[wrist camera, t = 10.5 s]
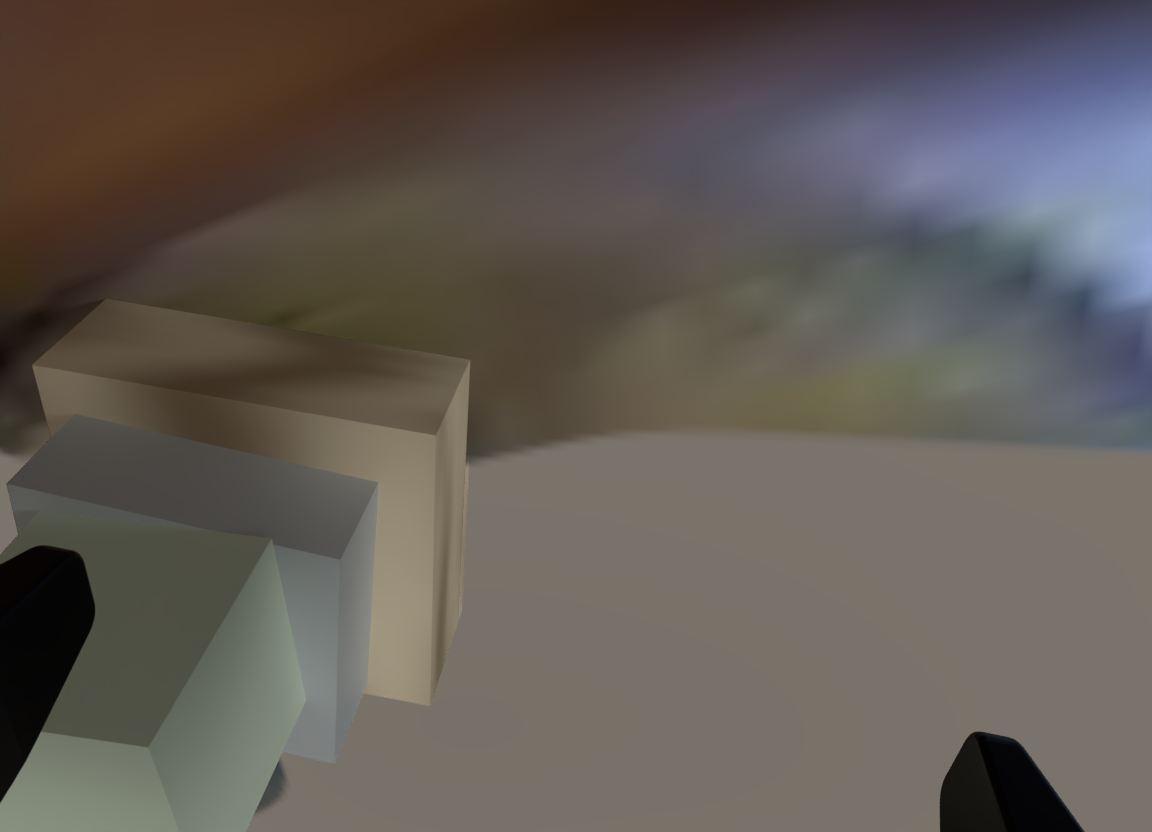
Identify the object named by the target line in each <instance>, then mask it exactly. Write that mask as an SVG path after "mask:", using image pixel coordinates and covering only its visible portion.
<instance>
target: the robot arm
mask: <svg viewBox="0 0 1152 832" xmlns="http://www.w3.org/2000/svg"><path fill="white" fill-rule="evenodd" d="M94 619H95V601H94V597H93V594H92V590H91V586H90V582H89V578H88V574H87V570H86V566H85V562H84V560H83V557H82V556H81V555H80V554H79V553H78V552H76V551H74V550H69V549H64V548H59V547H54V546H49V545H39V546H35V547H32V548H30V549H28V550H26V551H24V552H22V553H20V554H19V555H17V556H15V557H13V558H11V559H9V560H7V561H5V562H4V563H2V564H0V803H1V801H2V800H3V798H4V797H5V795H6V793H7V792H8V790H9V789H10V787H11V785H12V784H13V782H14V780H15V779H16V777H17V775H18V774H19V772H20V770H21V769H22V767H23V765H24V764H25V762H26V760H27V758H28V756H29V754H30V753H31V751H32V749H33V747H34V745H35V743H36V741H37V739H38V737H39V735H40V733H41V731H42V729H43V727H44V725H45V723H46V721H47V719H48V717H49V715H50V713H51V711H52V709H53V706H54V704H55V702H56V700H57V698H58V696H59V694H60V692H61V690H62V688H63V686H64V684H65V682H66V680H67V678H68V676H69V674H70V672H71V670H72V668H73V666H74V664H75V662H76V660H77V657H78V655H79V653H80V651H81V649H82V647H83V645H84V643H85V641H86V639H87V637H88V635H89V633H90V631H91V628H92V626H93V623H94ZM940 832H1084V830H1083V829H1082V827H1081V826H1080V825H1079V823H1078V822H1077V821H1076V819H1075V818H1074V816H1073V815H1072V814H1071V812H1070V811H1069V809H1068V808H1067V807H1066V805H1065V804H1064V803H1063V801H1062V800H1061V798H1060V797H1059V796H1058V794H1057V793H1056V792H1055V790H1054V789H1053V787H1052V786H1051V785H1050V783H1049V782H1048V780H1047V779H1046V778H1045V776H1044V775H1043V774H1042V772H1041V771H1040V770H1039V768H1038V767H1037V765H1036V764H1035V762H1034V761H1033V760H1032V758H1031V757H1030V756H1029V754H1028V753H1027V752H1026V750H1025V749H1024V747H1023V746H1022V745H1021V744H1019V742H1017V741H1016V740H1014V739H1012V738H1009V737H1005V736H1000V735H995V734H990V733H985V732H974V733H972V734H970V735H969V736H968V738H967V739H966V740H965V742H964V744H963V746H962V748H961V749H960V751H959V753H958V755H957V757H956V758H955V760H954V762H953V764H952V766H951V767H950V769H949V771H948V773H947V775H946V776H945V779H944V781H943V784H942V788H941V795H940Z"/></svg>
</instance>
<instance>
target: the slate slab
mask: <svg viewBox="0 0 1152 832" xmlns="http://www.w3.org/2000/svg"><path fill="white" fill-rule="evenodd" d="M378 486H379V482H374V481H370V480H365V479H361V478H357V477H352V476H348V475H343V474H339V473H334V472H330V471H326V470H321V469H317V468H312V467H308V466H303V465H299V464H295V463H290V462H286V461H281V460H277V459H272V458H268V457H264V456H259V455H255V454H250V453H246V452H242V451H237V450H233V449H228V448H224V447H219V446H215V445H211V444H206V443H202V442H197V441H193V440H188V439H184V438H180V437H175V436H171V435H166V434H162V433H157V432H153V431H149V430H144V429H140V428H135V427H131V426H126V425H122V424H117V423H113V422H109V421H104V420H100V419H95V418H91V417H86V416H82V415H77V414H74V415H73V416H72V417H71V418H70V419H69V420H68V421H67V422H66V423H65V424H64V425H63V426H62V427H61V428H60V429H59V430H58V432H57V433H56V434H55V435H54V436H53V437H52V438H51V439H50V440H49V441H48V442H47V443H46V444H45V445H44V446H43V447H42V448H41V449H40V450H39V451H38V452H37V453H36V454H35V455H34V456H33V457H32V458H31V459H30V460H29V461H28V462H27V463H26V464H25V465H24V466H23V467H22V468H21V470H19V472H18V473H17V474H16V475H15V476H14V477H13V478H12V479H11V480H10V481H9V482H8V483H7V488H8V493H9V496H10V501H11V505H12V509H13V514H14V518H15V522H16V526H17V531H18V534H19V533H20V532H21V531H22V530H23V529H24V528H25V527H26V526H27V524H28V523H29V522H30V521H31V520H32V519H33V518H34V517H35V516H36V514H37V513H38V512H39V511H40V510H43V511H51V512H59V513H67V514H75V515H84V516H92V517H100V518H108V519H117V520H125V521H133V522H141V523H149V524H158V525H166V526H174V527H182V528H191V529H199V530H207V531H215V532H223V533H232V534H240V535H248V536H256V537H265V538H272V541H273V546H274V551H275V556H276V560H277V565H278V570H279V574H280V579H281V584H282V589H283V593H284V598H285V603H286V607H287V612H288V617H289V622H290V626H291V631H292V636H293V641H294V645H295V650H296V655H297V660H298V664H299V669H300V674H301V679H302V683H303V688H304V693H305V698H306V702H305V704H304V706H303V708H302V710H301V713H300V715H299V717H298V719H297V721H296V724H295V726H294V728H293V730H292V732H291V734H290V737H289V739H288V741H287V743H286V745H285V747H284V750H283V752H284V753H289V754H293V755H297V756H301V757H306V758H310V759H315V760H319V761H323V762H327V763H331V764H335V762H336V760H337V757H338V755H339V752H340V750H341V747H342V745H343V742H344V740H345V738H346V735H347V733H348V730H349V728H350V725H351V723H352V720H353V718H354V715H355V713H356V710H357V708H358V705H359V703H360V701H361V698H362V696H363V693H364V691H365V688H366V686H367V682H368V664H369V646H370V628H371V610H372V593H373V575H374V557H375V539H376V521H377V503H378Z"/></svg>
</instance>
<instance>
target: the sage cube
mask: <svg viewBox="0 0 1152 832" xmlns="http://www.w3.org/2000/svg"><path fill="white" fill-rule="evenodd" d="M39 545H49V546H54V547H59V548H64V549H69V550H74V551H76V552H78V553H79V554H80V555H81V556H82V557H83V560H84V562H85V566H86V570H87V574H88V578H89V582H90V586H91V590H92V594H93V597H94V601H95V619H94V623H93V626H92V628H91V631H90V633H89V635H88V637H87V639H86V641H85V643H84V645H83V647H82V649H81V651H80V653H79V655H78V657H77V660H76V662H75V664H74V666H73V668H72V670H71V672H70V674H69V676H68V678H67V680H66V682H65V684H64V686H63V688H62V690H61V692H60V694H59V696H58V698H57V700H56V702H55V704H54V706H53V709H52V711H51V713H50V715H49V717H48V719H47V721H46V723H45V725H44V727H43V729H42V731H41V733H40V735H39V737H38V739H37V741H36V743H35V745H34V747H33V749H32V751H31V753H30V754H29V756H28V758H27V760H26V762H25V764H24V765H23V767H22V769H21V770H20V772H19V774H18V775H17V777H16V779H15V780H14V782H13V784H12V785H11V787H10V789H9V790H8V792H7V793H6V795H5V797H4V798H3V800H2V801H1V803H0V832H246V830H247V828H248V826H249V824H250V822H251V819H252V817H253V815H254V813H255V811H256V808H257V806H258V804H259V802H260V800H261V798H262V795H263V793H264V791H265V789H266V787H267V784H268V782H269V780H270V778H271V776H272V774H273V771H274V769H275V767H276V765H277V763H278V761H279V758H280V756H281V754H282V752H283V750H284V747H285V745H286V743H287V741H288V739H289V737H290V734H291V732H292V730H293V728H294V726H295V724H296V721H297V719H298V717H299V715H300V713H301V710H302V708H303V706H304V704H305V702H306V698H305V693H304V688H303V683H302V679H301V674H300V669H299V664H298V660H297V655H296V650H295V645H294V641H293V636H292V631H291V626H290V622H289V617H288V612H287V607H286V603H285V598H284V593H283V589H282V584H281V579H280V574H279V570H278V565H277V560H276V556H275V551H274V546H273V541H272V538H265V537H256V536H248V535H240V534H232V533H223V532H215V531H207V530H199V529H191V528H182V527H174V526H166V525H158V524H149V523H141V522H133V521H125V520H117V519H108V518H100V517H92V516H84V515H75V514H67V513H59V512H51V511H43V510H40V511H39V512H38V513H37V514H36V516H35V517H34V518H33V519H32V520H31V521H30V522H29V523H28V524H27V526H26V527H25V528H24V529H23V530H22V531H21V532H20V533H19V534H18V536H17V537H16V538H15V539H14V540H13V541H12V542H11V544H9V546H8V547H7V548H6V549H5V550H4V551H3V552H2V554H1V555H0V564H2V563H4V562H5V561H7V560H9V559H11V558H13V557H15V556H17V555H19V554H20V553H22V552H24V551H26V550H28V549H30V548H32V547H35V546H39Z"/></svg>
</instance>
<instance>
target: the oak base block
mask: <svg viewBox="0 0 1152 832" xmlns="http://www.w3.org/2000/svg"><path fill="white" fill-rule="evenodd" d="M32 367H33V371H34V375H35V379H36V382H37V386H38V390H39V394H40V398H41V401H42V405H43V409H44V413H45V417H46V421H47V424H48V428H49V432H50V436H51V438H52V437H53V436H54V435H55V434H56V433H57V432H58V430H59V429H60V428H61V427H62V426H63V425H64V424H65V423H66V422H67V421H68V420H69V419H70V418H71V417H72V416H73V415H74V414H77V415H82V416H86V417H91V418H95V419H100V420H104V421H109V422H113V423H117V424H122V425H126V426H131V427H135V428H140V429H144V430H149V431H153V432H157V433H162V434H166V435H171V436H175V437H180V438H184V439H188V440H193V441H197V442H202V443H206V444H211V445H215V446H219V447H224V448H228V449H233V450H237V451H242V452H246V453H250V454H255V455H259V456H264V457H268V458H272V459H277V460H281V461H286V462H290V463H295V464H299V465H303V466H308V467H312V468H317V469H321V470H326V471H330V472H334V473H339V474H343V475H348V476H352V477H357V478H361V479H365V480H370V481H374V482H379V486H378V503H377V521H376V539H375V557H374V575H373V593H372V610H371V628H370V646H369V664H368V682H367V686H366V688H365V691H364V693H365V694H371V695H375V696H380V697H385V698H391V699H396V700H401V701H407V702H411V703H417V704H422V705H427V706H430V705H431V702H432V698H433V696H434V693H435V689H436V686H437V684H438V681H439V678H440V675H441V672H442V669H443V666H444V662H445V660H446V657H447V654H448V651H449V648H450V645H451V642H452V639H453V636H454V633H455V630H456V627H457V624H458V621H459V618H460V615H461V612H462V605H463V604H462V603H463V584H464V562H465V542H466V540H465V539H466V520H467V499H468V477H469V464H465V463H466V440H467V418H468V395H469V373H470V360H468V359H462V358H456V357H450V356H444V355H438V354H432V353H426V352H420V351H414V350H408V349H402V348H396V347H391V346H385V345H379V344H373V343H367V342H361V341H355V340H349V339H343V338H337V337H331V336H325V335H319V334H314V333H308V332H302V331H296V330H290V329H284V328H278V327H272V326H266V325H260V324H254V323H248V322H242V321H237V320H231V319H225V318H219V317H213V316H207V315H201V314H195V313H189V312H183V311H177V310H171V309H165V308H159V307H154V306H148V305H142V304H136V303H130V302H124V301H118V300H112V299H105V300H104V301H103V302H102V303H101V304H100V305H98V306H97V307H96V308H95V309H94V310H93V311H92V312H91V313H89V314H88V315H87V316H86V317H85V318H84V319H83V320H82V321H81V322H79V323H78V324H77V325H76V326H75V327H74V328H73V329H72V330H70V331H69V332H68V333H67V334H66V335H65V336H64V337H63V338H62V339H60V340H59V341H58V342H57V343H56V344H55V345H54V346H53V347H51V348H50V349H49V350H48V351H47V352H46V353H45V354H44V355H42V356H41V357H40V358H39V359H38V360H37V361H36V362H35V363H34V364H32Z"/></svg>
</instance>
